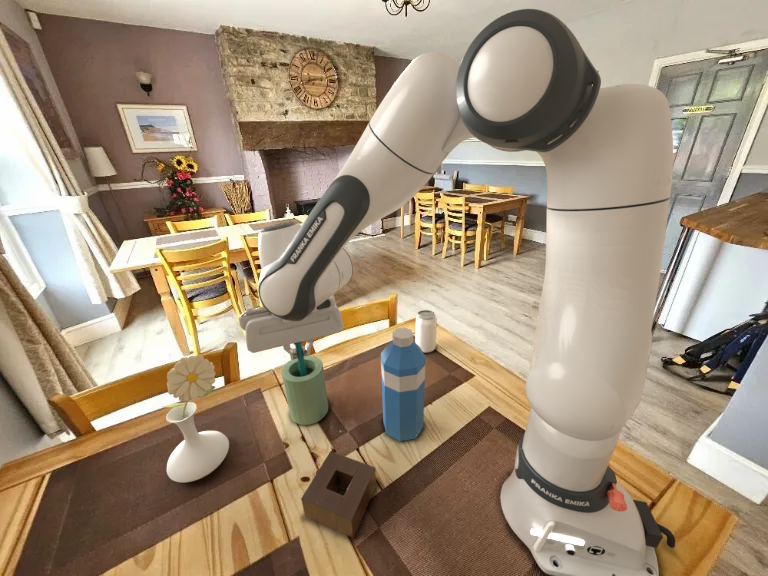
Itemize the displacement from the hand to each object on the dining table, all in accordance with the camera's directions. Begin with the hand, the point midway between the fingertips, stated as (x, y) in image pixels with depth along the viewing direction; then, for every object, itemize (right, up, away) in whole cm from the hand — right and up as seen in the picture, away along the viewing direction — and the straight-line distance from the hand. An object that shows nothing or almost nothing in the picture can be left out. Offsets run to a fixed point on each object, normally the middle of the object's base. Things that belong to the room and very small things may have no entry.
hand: (300, 355), depth 70 cm
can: (+32, -4, +29) cm, 44 cm away
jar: (0, -15, +7) cm, 16 cm away
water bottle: (+23, -16, +2) cm, 29 cm away
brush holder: (+11, -24, -13) cm, 29 cm away
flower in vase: (-19, -21, -4) cm, 28 cm away
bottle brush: (0, -13, +6) cm, 14 cm away
